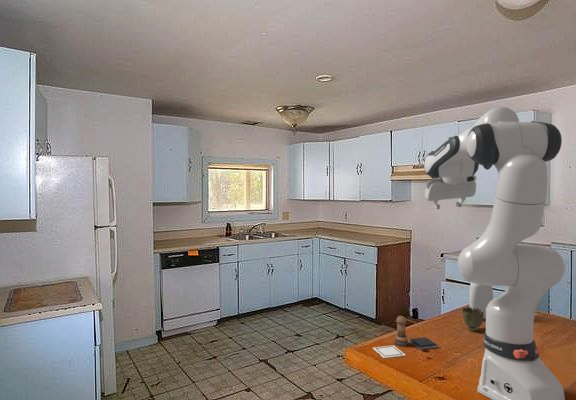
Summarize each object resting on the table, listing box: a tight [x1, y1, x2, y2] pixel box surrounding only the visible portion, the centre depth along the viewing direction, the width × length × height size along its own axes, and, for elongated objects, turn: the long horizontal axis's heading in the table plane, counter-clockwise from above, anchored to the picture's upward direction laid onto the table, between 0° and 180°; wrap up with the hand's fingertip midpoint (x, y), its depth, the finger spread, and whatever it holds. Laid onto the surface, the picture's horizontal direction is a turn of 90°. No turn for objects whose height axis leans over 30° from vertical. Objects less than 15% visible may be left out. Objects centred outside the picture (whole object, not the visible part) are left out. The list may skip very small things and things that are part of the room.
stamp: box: [394, 315, 409, 347], centre depth 131 cm, size 4×4×10 cm
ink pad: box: [408, 336, 439, 351], centre depth 131 cm, size 7×7×1 cm
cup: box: [461, 306, 484, 332], centre depth 144 cm, size 8×7×8 cm
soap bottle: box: [468, 282, 494, 320], centre depth 158 cm, size 14×8×27 cm, turn 122°
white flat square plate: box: [372, 344, 407, 359], centre depth 125 cm, size 8×8×1 cm
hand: (447, 207), depth 154 cm, fingers open, 8 cm apart
